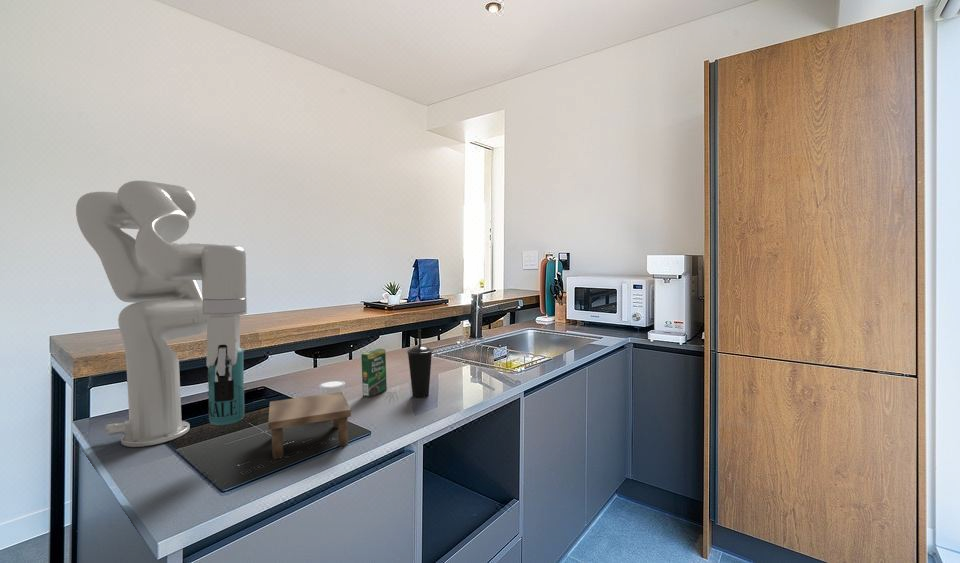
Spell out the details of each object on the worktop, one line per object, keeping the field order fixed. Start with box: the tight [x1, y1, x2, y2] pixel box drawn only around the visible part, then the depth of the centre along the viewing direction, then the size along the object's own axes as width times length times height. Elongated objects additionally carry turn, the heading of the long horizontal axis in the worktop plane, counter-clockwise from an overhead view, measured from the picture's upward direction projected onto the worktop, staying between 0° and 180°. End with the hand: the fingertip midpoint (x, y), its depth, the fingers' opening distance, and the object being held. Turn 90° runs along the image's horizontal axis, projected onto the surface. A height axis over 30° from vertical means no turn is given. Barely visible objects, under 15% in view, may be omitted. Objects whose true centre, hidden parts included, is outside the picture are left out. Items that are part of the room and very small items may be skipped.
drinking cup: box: [406, 328, 434, 399], centre depth 124 cm, size 8×8×20 cm
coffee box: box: [361, 348, 388, 398], centre depth 126 cm, size 8×3×13 cm, turn 150°
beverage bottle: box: [206, 346, 246, 426], centre depth 84 cm, size 6×7×20 cm
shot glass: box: [318, 380, 346, 398], centre depth 113 cm, size 7×7×7 cm
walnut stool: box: [267, 392, 352, 460], centre depth 93 cm, size 16×14×8 cm
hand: (226, 394), depth 84 cm, fingers closed on beverage bottle, 6 cm apart
